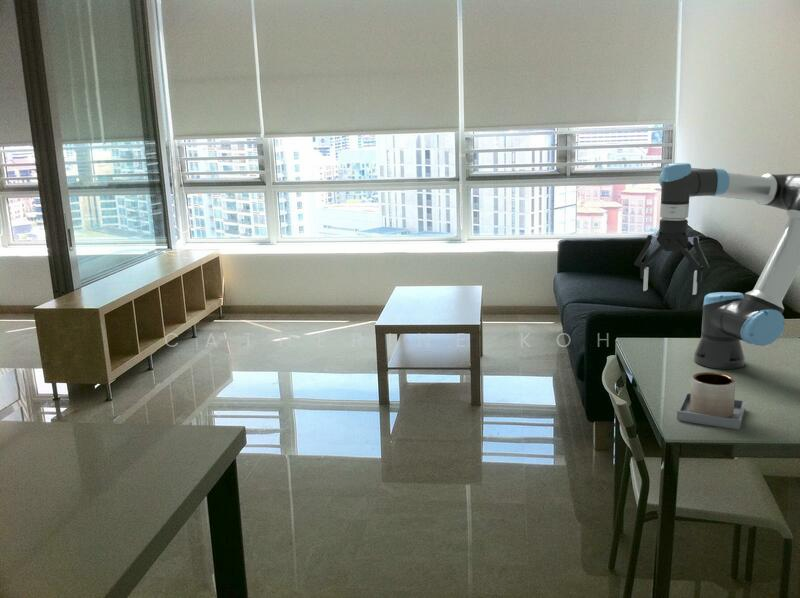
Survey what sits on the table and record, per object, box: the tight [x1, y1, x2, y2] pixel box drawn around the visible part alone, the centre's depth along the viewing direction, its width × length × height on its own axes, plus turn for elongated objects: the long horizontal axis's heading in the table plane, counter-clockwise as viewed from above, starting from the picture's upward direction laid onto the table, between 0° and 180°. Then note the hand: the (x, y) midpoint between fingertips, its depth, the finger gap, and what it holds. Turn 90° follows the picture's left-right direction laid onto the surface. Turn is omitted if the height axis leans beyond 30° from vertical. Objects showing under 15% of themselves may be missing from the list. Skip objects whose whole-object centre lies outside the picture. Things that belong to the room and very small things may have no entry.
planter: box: [690, 371, 737, 418], centre depth 197 cm, size 11×11×10 cm
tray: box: [676, 392, 746, 431], centre depth 198 cm, size 15×15×2 cm
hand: (669, 291), depth 215 cm, fingers open, 13 cm apart
